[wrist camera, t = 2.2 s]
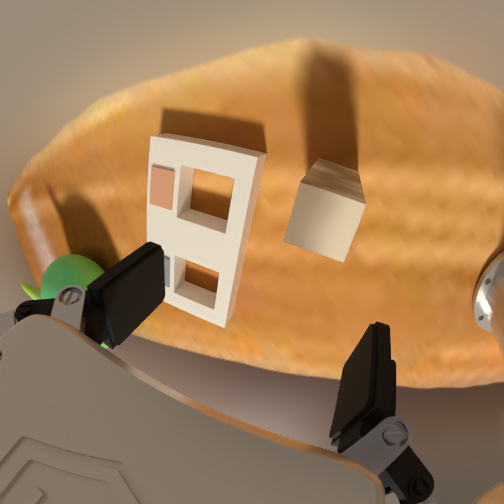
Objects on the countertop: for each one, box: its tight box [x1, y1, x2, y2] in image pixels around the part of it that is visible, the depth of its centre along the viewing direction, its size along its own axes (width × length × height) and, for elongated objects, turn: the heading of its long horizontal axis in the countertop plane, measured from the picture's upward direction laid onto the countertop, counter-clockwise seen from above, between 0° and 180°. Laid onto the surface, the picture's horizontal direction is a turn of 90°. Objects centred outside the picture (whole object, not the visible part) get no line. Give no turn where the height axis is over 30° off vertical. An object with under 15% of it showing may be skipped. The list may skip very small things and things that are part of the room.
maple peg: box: [284, 158, 366, 262], centre depth 20 cm, size 4×4×11 cm
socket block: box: [147, 133, 267, 328], centre depth 31 cm, size 12×22×3 cm, turn 169°
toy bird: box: [21, 254, 108, 349], centre depth 39 cm, size 18×17×15 cm
